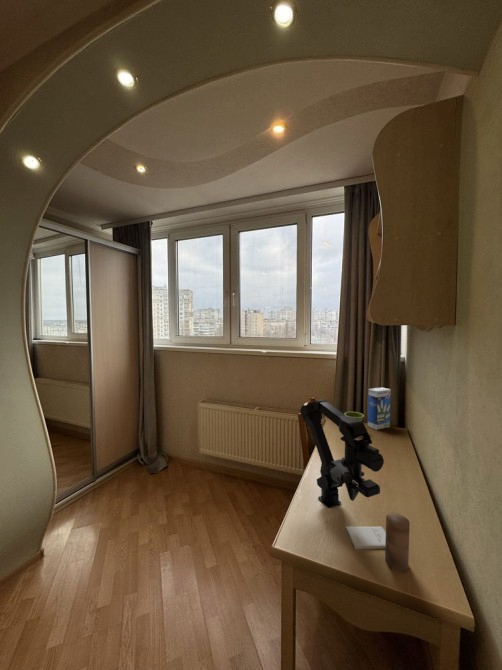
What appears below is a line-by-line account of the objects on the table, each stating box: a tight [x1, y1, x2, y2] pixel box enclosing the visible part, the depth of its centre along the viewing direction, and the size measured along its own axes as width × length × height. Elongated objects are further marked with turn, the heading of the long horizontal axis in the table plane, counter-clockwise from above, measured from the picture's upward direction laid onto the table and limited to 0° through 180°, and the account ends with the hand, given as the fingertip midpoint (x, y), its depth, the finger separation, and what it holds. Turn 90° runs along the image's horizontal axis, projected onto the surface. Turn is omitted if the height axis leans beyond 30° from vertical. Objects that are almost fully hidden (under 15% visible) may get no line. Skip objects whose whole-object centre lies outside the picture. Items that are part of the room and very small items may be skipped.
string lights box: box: [367, 386, 392, 431], centre depth 184 cm, size 13×8×26 cm, turn 115°
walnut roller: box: [384, 512, 411, 573], centre depth 79 cm, size 6×6×13 cm
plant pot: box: [344, 411, 365, 422], centre depth 175 cm, size 12×12×11 cm
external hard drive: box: [345, 526, 386, 550], centre depth 89 cm, size 2×8×12 cm
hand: (352, 500), depth 96 cm, fingers closed
